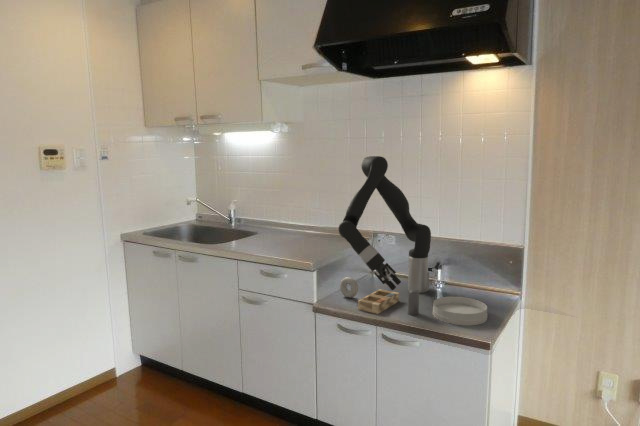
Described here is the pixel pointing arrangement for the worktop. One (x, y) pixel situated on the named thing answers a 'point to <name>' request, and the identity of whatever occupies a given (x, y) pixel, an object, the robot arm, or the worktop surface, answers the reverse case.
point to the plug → (413, 302)
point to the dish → (460, 310)
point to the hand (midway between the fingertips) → (397, 286)
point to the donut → (353, 287)
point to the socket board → (378, 301)
